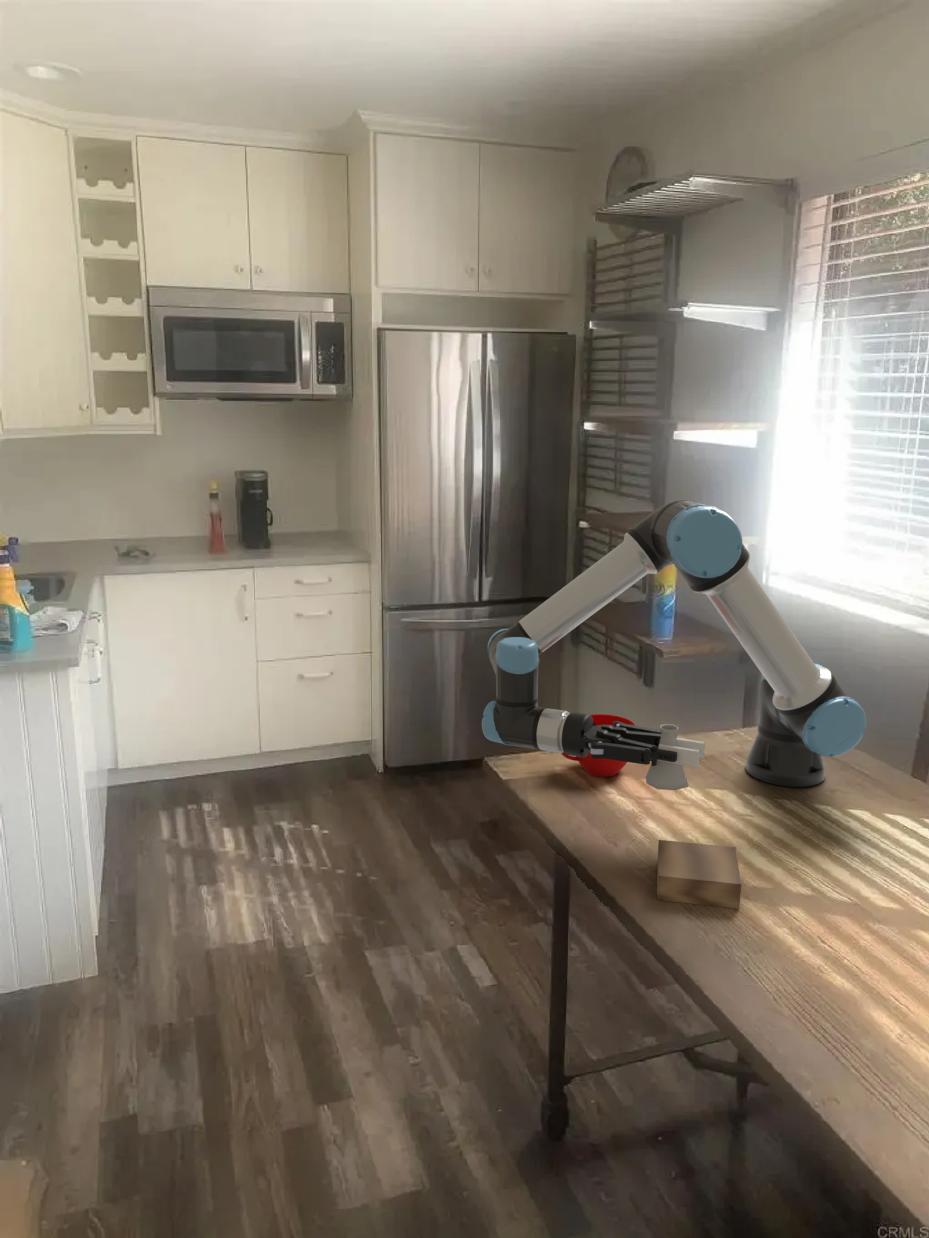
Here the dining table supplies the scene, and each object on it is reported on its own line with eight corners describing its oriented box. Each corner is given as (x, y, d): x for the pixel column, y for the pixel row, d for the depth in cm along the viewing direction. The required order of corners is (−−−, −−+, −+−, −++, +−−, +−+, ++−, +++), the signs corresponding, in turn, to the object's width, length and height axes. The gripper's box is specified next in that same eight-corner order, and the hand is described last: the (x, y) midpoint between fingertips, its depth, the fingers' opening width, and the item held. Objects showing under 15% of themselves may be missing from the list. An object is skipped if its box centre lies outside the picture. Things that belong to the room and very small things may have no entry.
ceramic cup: (541, 768, 189) (542, 722, 186) (608, 755, 196) (610, 710, 194) (576, 791, 178) (578, 742, 175) (646, 776, 185) (649, 729, 183)
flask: (678, 773, 159) (681, 718, 157) (695, 790, 152) (698, 732, 150) (638, 776, 158) (640, 721, 156) (654, 793, 151) (656, 736, 149)
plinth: (733, 869, 148) (735, 847, 147) (739, 908, 136) (741, 884, 135) (657, 862, 150) (658, 839, 149) (656, 899, 138) (658, 875, 138)
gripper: (582, 738, 170) (711, 759, 159) (549, 769, 155) (687, 794, 145) (583, 699, 168) (713, 717, 157) (550, 727, 154) (690, 749, 143)
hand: (700, 754), depth 151 cm, fingers closed on flask, 3 cm apart
